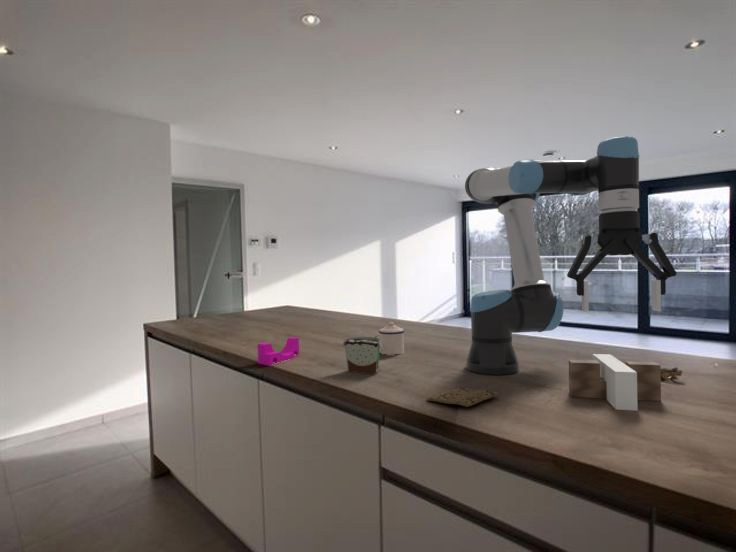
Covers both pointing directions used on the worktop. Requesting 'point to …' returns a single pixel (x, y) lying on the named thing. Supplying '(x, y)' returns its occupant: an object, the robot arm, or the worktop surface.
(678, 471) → the worktop surface
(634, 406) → the white bridge
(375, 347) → the food container
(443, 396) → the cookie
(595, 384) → the walnut notched block
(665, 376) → the frog figurine
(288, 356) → the toy block
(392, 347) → the teacup with lid
